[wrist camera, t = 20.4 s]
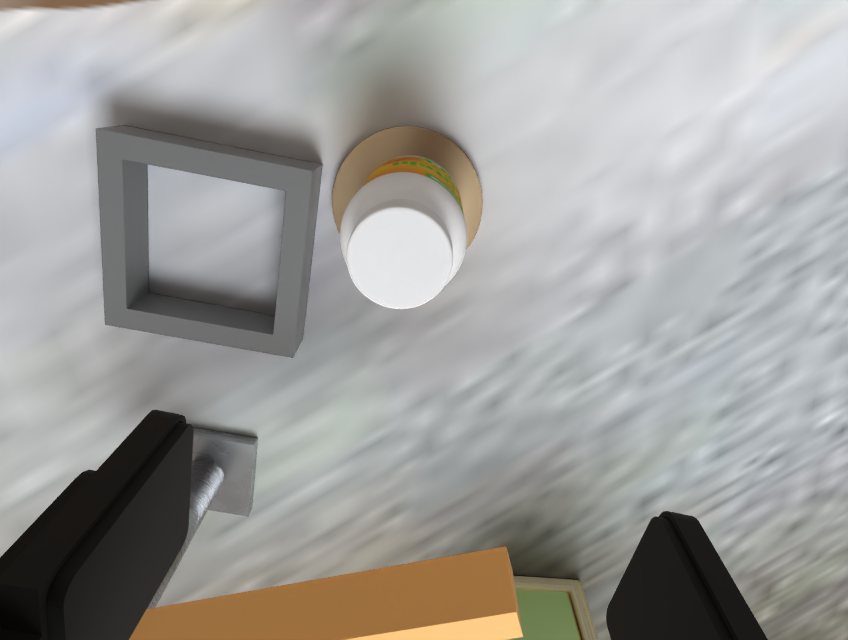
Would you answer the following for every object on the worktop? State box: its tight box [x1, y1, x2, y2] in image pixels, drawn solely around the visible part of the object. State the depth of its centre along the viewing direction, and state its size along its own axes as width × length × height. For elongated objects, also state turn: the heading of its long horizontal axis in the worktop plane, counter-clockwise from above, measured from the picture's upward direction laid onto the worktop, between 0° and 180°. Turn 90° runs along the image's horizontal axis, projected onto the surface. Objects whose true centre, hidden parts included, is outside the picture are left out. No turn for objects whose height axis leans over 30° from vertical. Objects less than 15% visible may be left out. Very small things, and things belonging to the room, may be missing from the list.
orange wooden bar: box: [129, 546, 523, 640], centre depth 23 cm, size 21×3×3 cm, turn 104°
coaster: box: [332, 126, 482, 249], centre depth 29 cm, size 8×8×1 cm
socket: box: [96, 125, 323, 358], centre depth 29 cm, size 10×10×2 cm
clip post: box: [147, 427, 258, 609], centre depth 31 cm, size 6×6×12 cm
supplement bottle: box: [340, 156, 467, 309], centre depth 24 cm, size 5×5×10 cm
